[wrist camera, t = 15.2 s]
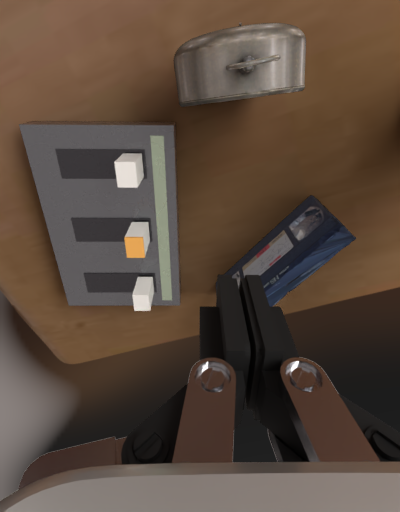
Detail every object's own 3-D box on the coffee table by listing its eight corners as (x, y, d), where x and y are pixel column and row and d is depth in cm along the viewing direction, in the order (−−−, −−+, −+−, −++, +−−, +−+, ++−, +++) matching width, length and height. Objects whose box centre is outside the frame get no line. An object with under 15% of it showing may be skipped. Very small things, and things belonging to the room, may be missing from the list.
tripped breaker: (148, 221, 36) (142, 238, 32) (149, 240, 37) (144, 257, 34) (131, 222, 36) (124, 237, 32) (133, 240, 37) (126, 257, 34)
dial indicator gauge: (183, 105, 33) (172, 122, 19) (175, 46, 30) (156, 15, 16) (283, 92, 32) (349, 100, 18) (284, 31, 30) (363, -16, 16)
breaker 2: (152, 276, 40) (148, 295, 37) (154, 291, 41) (150, 310, 38) (137, 276, 40) (132, 295, 37) (139, 291, 41) (134, 310, 38)
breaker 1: (141, 153, 32) (135, 162, 29) (143, 176, 33) (137, 187, 30) (123, 153, 32) (114, 161, 29) (125, 176, 33) (117, 187, 30)
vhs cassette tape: (311, 192, 38) (344, 224, 30) (325, 207, 39) (361, 242, 31) (212, 280, 45) (215, 327, 36) (226, 291, 46) (233, 339, 37)
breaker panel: (175, 122, 34) (173, 125, 31) (180, 292, 46) (179, 305, 43) (32, 121, 34) (18, 124, 31) (76, 292, 46) (68, 305, 43)
